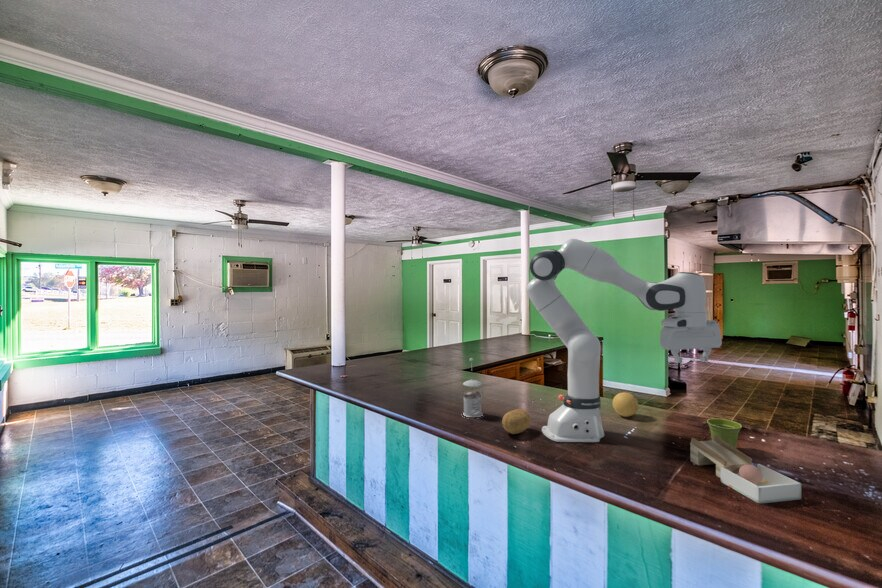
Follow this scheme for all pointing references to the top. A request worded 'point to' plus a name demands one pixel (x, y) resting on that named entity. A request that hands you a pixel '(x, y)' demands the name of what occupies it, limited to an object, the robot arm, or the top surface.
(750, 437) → the top surface
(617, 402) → the stress ball
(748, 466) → the rubber ball
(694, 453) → the launch ramp
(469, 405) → the french press
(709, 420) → the plant pot
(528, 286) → the robot arm
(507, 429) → the potato
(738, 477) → the tray
